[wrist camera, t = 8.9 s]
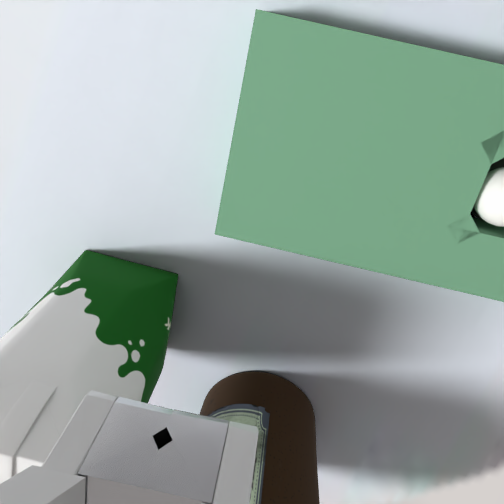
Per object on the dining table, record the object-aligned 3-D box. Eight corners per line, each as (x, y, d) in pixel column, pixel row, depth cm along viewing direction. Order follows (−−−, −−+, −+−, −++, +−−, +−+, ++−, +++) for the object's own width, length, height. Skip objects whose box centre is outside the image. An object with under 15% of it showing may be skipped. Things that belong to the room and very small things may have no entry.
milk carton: (75, 235, 35) (-177, 449, 17) (194, 266, 35) (69, 515, 17) (67, 331, 39) (-146, 591, 21) (175, 360, 39) (55, 645, 21)
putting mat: (222, 217, 33) (214, 234, 31) (261, 11, 28) (256, 9, 25) (536, 290, 33) (556, 314, 30) (639, 96, 27) (676, 103, 25)
